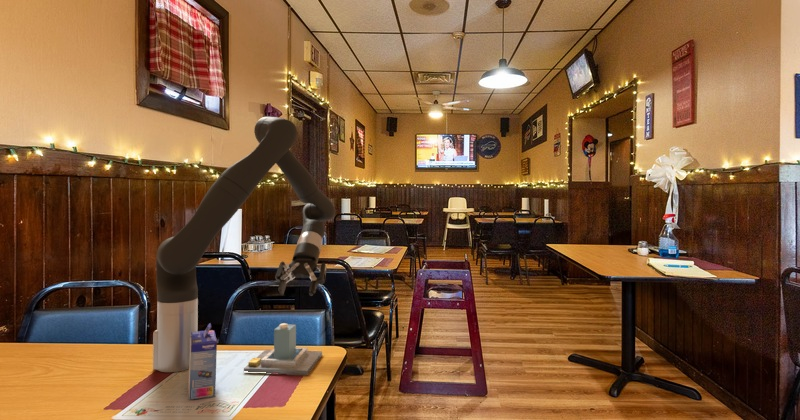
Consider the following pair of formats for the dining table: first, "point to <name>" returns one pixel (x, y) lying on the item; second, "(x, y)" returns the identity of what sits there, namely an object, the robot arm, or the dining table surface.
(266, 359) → the plate
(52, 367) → the dining table surface
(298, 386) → the dining table surface
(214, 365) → the ink cartridge box
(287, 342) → the servo
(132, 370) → the dining table surface
